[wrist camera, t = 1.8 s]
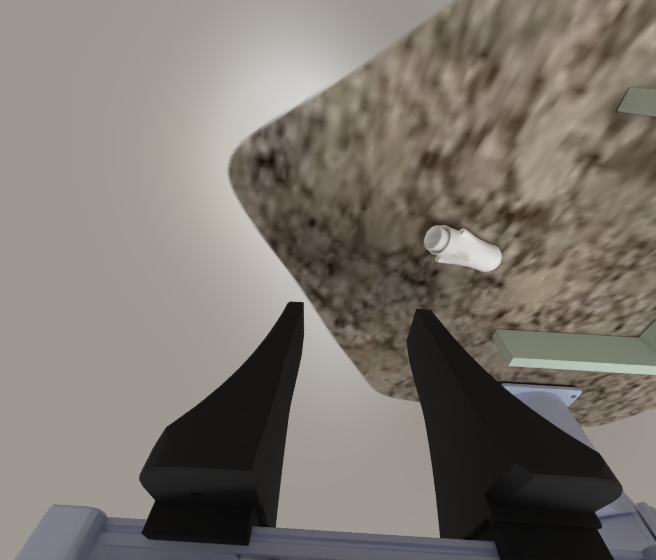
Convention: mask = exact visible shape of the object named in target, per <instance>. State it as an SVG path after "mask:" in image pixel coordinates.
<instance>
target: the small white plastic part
mask: <svg viewBox="0 0 656 560" xmlns="http://www.w3.org/2000/svg"><path fill="white" fill-rule="evenodd" d="M424 246H425V248H426V249H428V250H429V252H430V253H431V254H433V255H437V257H436V259H435V261H436V262H440V263H449V264H457V265H463V266H468V267H471V268H474V269H477V270H479V271H483V272H487V271H491V270H493V269H495V268H496V267H497V266H498V265H499V264H500V262H501V259H502V254H501V251H500V250H499V248H498V247H496V246H495V245H493V244H489V243H487V242H485V241H482V240H480V239H479V238H477V237H475V236H474V235H473V234H471V233H470V232H469V231H467V230H466V229H464V228H463V229H461V230H460V231H458V230H455V229H453V228H450V227H448V226H446V225H441V226H438V225H435V226H433V227H431V228H430V229H429V230H428V231H427V233H426V235H425V237H424Z"/></svg>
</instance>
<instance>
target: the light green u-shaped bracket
mask: <svg viewBox="0 0 656 560" xmlns="http://www.w3.org/2000/svg"><path fill="white" fill-rule="evenodd" d="M617 111H620V112H627V113H634V114H642V115H649V116H656V89H643V88H629V90H628V92H627V94H626V95H625V97H624V99H623V101H622V103H621V105H620V106H619V108H618V110H617ZM492 338H493V340H494V342H495V344H496V345H497V347H498V349H499V351H500V353H501V354H502V356H503V358H504V360H505V361H506V363H507V365H508V366H516V367H533V368H550V369H567V370H584V371H600V372H617V373H634V374H651V375H656V321H655V322H654V323H653V324H652V325H651V326H650V327H649V328H648V329H647V330H646V331H645V332H644V333H643V334H642V335H641V336H640V337H639V338H638V337H621V336H604V335H587V334H570V333H553V332H536V331H519V330H501V329H496V331H495V333H494V334H493V336H492Z"/></svg>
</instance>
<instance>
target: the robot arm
mask: <svg viewBox="0 0 656 560" xmlns="http://www.w3.org/2000/svg"><path fill="white" fill-rule="evenodd" d="M303 339H304V303H303V302H289V303H288V304H287V305H286V307H285V309H284V311H283V313H282V314H281V316H280V317H279V319H278V321H277V322H276V324H275V325H274V327H273V328H272V329H271V331H270V332H269V334H268V335H267V336H266V338H265V339H264V340H263V341H262V343H261V344H260V345H259V346H258V348H257V349H256V350H255V351H254V353H253V354H252V355H251V356H250V357H249V358H248V360H246V361H245V362H244V364H243V365H242V366H241V367H240V368H239V369H238V370H237V371H236V372H235V373H234V374H233V375H232V376H231V377H229V378H228V379H227V380H226V381H225V382H224V383H223V384H222V385H221V386H220V387H219V388H217V389H216V390H215V391H214V392H212V393H211V394H210V395H209V396H208V397H207V398H205V399H204V400H203V401H202V402H200V403H199V404H198V405H197V406H195V407H194V408H193V409H191V410H190V411H188V412H187V413H186V414H184V415H183V416H181V417H180V418H179V419H177V420H176V421H175V422H173V423H172V424H170V425H169V426H167V427H166V428H165V430H164V432H163V433H162V435H161V436H160V438H159V439H158V441H157V443H156V444H155V446H154V448H153V449H152V451H151V453H150V455H149V458H148V459H147V461H146V463H145V465H144V467H143V469H142V471H141V473H140V477H139V480H140V482H141V484H142V486H143V487H144V488H145V489H146V490H147V492H148V493H149V494H150V495H151V496H152V497H153V498H154V499H155V503H154V505H153V507H152V509H151V512H150V514H149V516H148V519H147V520H145V519H130V518H114V517H107V515H106V514H105V512H103V511H102V510H100V509H97V508H94V507H86V506H71V505H56V504H55V505H52V506H51V507H49V509H48V510H47V512H46V513H45V515H44V516H43V518H42V519H41V521H40V522H39V524H38V525H37V527H36V528H35V529H34V531H33V532H32V534H31V535H30V537H29V538H28V540H27V541H26V543H25V544H24V546H23V547H22V549H21V550H20V552H19V553H18V555H17V556H16V558H15V559H14V560H656V509H655V508H653V507H649V505H648V504H647V503H645V502H640V503H636V505H637V506H636V505H635V504H634V503H633V501H632V500H631V499H630V498H629V497H628V496H627V495H626V494H625V492H624V491H623V488H622V485H621V484H620V482H619V481H618V480H617V478H616V477H615V475H614V474H613V472H612V471H611V470H610V468H609V466H608V465H607V464H606V462H605V460H604V459H603V458H602V456H601V455H600V453H598V452H597V451H596V449H595V448H594V446H593V445H592V443H591V442H590V440H589V439H588V437H587V436H586V434H585V433H584V431H583V430H582V428H581V427H580V425H579V424H578V422H577V421H576V419H575V418H574V417H573V415H572V414H571V412H570V411H569V409H568V407H569V406H570V405H571V404H572V403H573V402H574V400H575V399H576V398H577V397H578V396H579V395H580V394H581V393H582V391H581V390H580V389H579V388H576V387H560V386H544V385H527V384H510V383H502V384H500V383H499V382H498V381H496V380H495V379H494V378H493V377H492V376H491V375H490V374H489V373H487V372H486V371H485V370H484V369H483V368H482V367H481V366H480V365H479V364H478V363H477V362H476V361H475V360H474V359H473V358H472V357H471V356H470V355H469V354H468V353H467V352H466V351H465V350H464V349H463V347H462V346H461V345H460V344H459V343H458V342H457V341H456V340H455V339H454V337H453V336H452V335H451V334H450V333H449V332H448V330H447V329H446V328H445V327H444V326H443V324H442V323H441V322H440V321H439V320H438V318H437V317H436V316H435V315H434V314H433V312H432V311H431V310H426V309H416V312H415V315H414V318H413V322H412V325H411V328H410V331H409V335H408V338H407V348H408V355H409V362H410V366H411V370H412V374H413V377H414V381H415V385H416V388H417V392H418V396H419V399H420V403H421V407H422V410H423V414H424V419H425V424H426V430H427V436H428V442H429V449H430V455H431V462H432V469H433V477H434V485H435V492H436V501H437V511H438V520H439V531H440V538H429V537H428V538H427V537H413V536H398V535H397V536H396V535H381V534H366V533H350V532H335V531H319V530H318V531H317V530H303V529H287V528H276V519H277V509H278V501H279V492H280V482H281V475H282V466H283V457H284V449H285V442H286V434H287V425H288V418H289V411H290V406H291V401H292V396H293V391H294V387H295V383H296V378H297V374H298V370H299V365H300V360H301V356H302V348H303Z"/></svg>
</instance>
